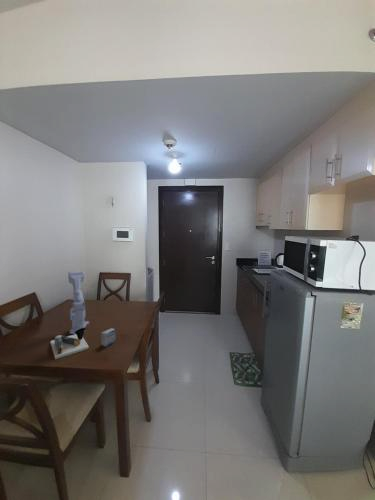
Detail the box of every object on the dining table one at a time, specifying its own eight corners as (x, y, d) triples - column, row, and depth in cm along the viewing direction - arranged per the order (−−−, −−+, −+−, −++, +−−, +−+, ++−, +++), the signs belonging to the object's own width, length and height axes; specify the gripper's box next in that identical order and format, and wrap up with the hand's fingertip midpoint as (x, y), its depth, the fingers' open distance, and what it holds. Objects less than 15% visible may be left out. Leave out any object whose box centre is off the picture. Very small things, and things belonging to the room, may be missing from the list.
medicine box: (106, 347, 136) (105, 334, 135) (101, 345, 138) (101, 332, 137) (115, 341, 143) (115, 329, 142) (111, 339, 145) (110, 327, 144)
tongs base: (53, 342, 138) (53, 337, 138) (62, 340, 141) (61, 335, 141) (57, 354, 125) (57, 349, 125) (66, 351, 128) (66, 346, 128)
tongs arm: (54, 343, 137) (53, 337, 136) (59, 339, 141) (59, 334, 141) (74, 347, 132) (74, 341, 132) (80, 343, 136) (80, 338, 136)
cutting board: (50, 343, 140) (50, 340, 140) (80, 335, 151) (80, 332, 151) (55, 359, 123) (55, 356, 123) (88, 348, 134) (88, 346, 134)
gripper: (75, 324, 131) (76, 345, 133) (92, 315, 145) (93, 334, 147) (66, 323, 133) (67, 343, 135) (84, 314, 147) (84, 333, 149)
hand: (80, 339), depth 141 cm, fingers closed
